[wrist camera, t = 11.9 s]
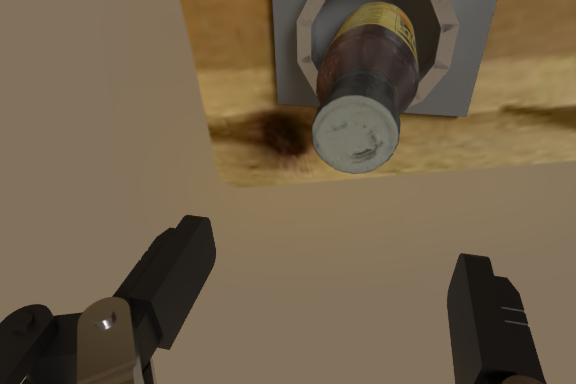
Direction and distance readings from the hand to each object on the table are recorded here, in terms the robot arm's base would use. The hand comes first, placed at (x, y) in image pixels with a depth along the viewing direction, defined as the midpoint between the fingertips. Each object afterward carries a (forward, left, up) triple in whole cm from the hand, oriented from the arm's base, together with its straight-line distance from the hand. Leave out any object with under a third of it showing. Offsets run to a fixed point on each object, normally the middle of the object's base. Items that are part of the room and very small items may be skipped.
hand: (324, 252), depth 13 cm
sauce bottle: (0, 0, -27) cm, 27 cm away
